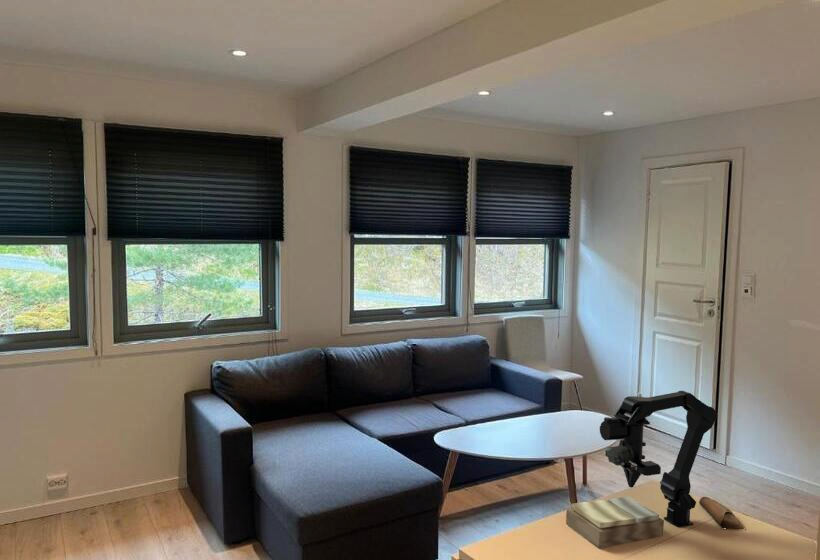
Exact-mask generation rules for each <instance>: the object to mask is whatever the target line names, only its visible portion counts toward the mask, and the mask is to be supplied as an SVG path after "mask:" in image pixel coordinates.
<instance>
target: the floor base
mask: <svg viewBox="0 0 820 560" xmlns="http://www.w3.org/2000/svg"><path fill="white" fill-rule="evenodd" d="M607 501H608V502H610V503H611V504H613V505H615V506H616V507H618V508H620V509H621V510H623V511H625V512H626V513H628V514H629V515H631V516H633V517H634V518H636V523H634V524H627V525H620V526H612V527H605V528H599V527H598V526H596V525H595V524H593V523H592V522H590V521H589V520H587V519H586V518H585V517H583V516H582V515H580V514H579V513H577V512H576V511H574V510H573V509H571V508H566V513H565V514H566V515H565V518H566V519H565V525H566V524H567V525H568V526H567V525H566V526H567V527H569V528H570V527H571V528H572V529H571V528H570V529H571V530H573V531H574V532H576V534H578V535H580V536H581V537H582V538H583V539H584V540H586V541H588V542H589V543H591V544H592V545H593V546H594V547H595V548H597V549H600V550H601V549H604V548H609V547H610V548H611V547H616V546H619V545H624V544H630V543H635V542H640V541H644V540H645V541H646V540H647V541H648V540H651V539H655V538H660V537H664V527H665V526H664V525H665V519H663V518H661V517H660V514H659V513H657V512H655V511H654V510H652V509H650V508H649V507H646V506H645V505H643V504H642V503H640V502H638V501H636V500H635V499H632V498H631V497H630V496H621V497H615V498H608V499H607Z"/></svg>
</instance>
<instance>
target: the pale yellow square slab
mask: <svg viewBox="0 0 820 560" xmlns="http://www.w3.org/2000/svg"><path fill="white" fill-rule="evenodd" d="M570 505H571V509H573V510H574V511H576V512H577V513H579V514H580V515H582V516H583V517H585V518H586V519H587V520H589V521H590V522H592V523H593V524H595V525H596V526H598V527H599V528H605V527H612V526H620V525H627V524H634V523H636V518H634V517H633V516H631V515H629V514H628V513H626V512H625V511H623V510H621V509H620V508H618V507H616V506H615V505H613V504H611V503H610V502H608V499H607V500H606V499H600V500H591V501H583V502H575V503H574V502H573V503H571V504H570Z"/></svg>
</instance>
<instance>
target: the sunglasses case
mask: <svg viewBox="0 0 820 560" xmlns="http://www.w3.org/2000/svg"><path fill="white" fill-rule="evenodd" d="M698 503H699V505H700V507H702V508H703V509H704V510H705V511H706V512H707V513H708V515H709V516H710V517H711V518H712V519H713V520H714V521H715V522H716V524H717V525H718V526H719V527H720V529H722V528H726V529H725V530H732V529H744V528H745V526H744V524H742V522H741V521H740V520H739V519H738V518H737V516H735V515H734V514H733V511H732V510H731V509H729V508H728V507H727V506H725V505H723V504H722V503H720V502H719V501H717V500H715V499H713V498H710V497H708V496H702V497H700V499H699V502H698Z"/></svg>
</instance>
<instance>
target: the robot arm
mask: <svg viewBox="0 0 820 560" xmlns="http://www.w3.org/2000/svg"><path fill="white" fill-rule="evenodd" d="M679 407H682V409H684V410H685V411H686V415H685V420H686V425H687V427H686V432H685V434H684V437H683V440H682V443H681V445H680V448H679V451H678V453H677V457H676V459H675V463H674V465H673V468H672V469H671V470H670V471H669V472H666V471H664V472H663V474H662V478H661V480H660V482H659V484H660V489H659V490H661V493H662V494H663V497H664V499H665V500H667V501H668V503H667V508H666V516H663V520H664V521H666V522H668V523H670V524H672V525H673V526H675V527H677V528H683V527H689V526H693V525H694V522H692V521H691V520H690V519H691V510H692V509H694V508H695V507H696V504H697V501H696V500H695V498H693V496H692V495H691V494H690V492H691V487H692V486H691V480H690V474H691V471H692V469H693V466H694V463H695V459H696V457H697V455H698V452H699V449H700V446H701V443H702V440H703V439H704V438H703V437H704V435H705V434H706V433H707V432H708V431H710V430H711V429H712V427H713V426H714V424H715V422H716V420H717V417H718V413H717V412H716V409H715V408H714V407H712V406H709V405H707V404H706V403H705V402H702V401H701V400H700V399H698V398H697V397H696V396H695V395H694V394H693V393H690V392H689V391H688V392H687V391H685V390H678V391H676V392H671V393H665V394H660V395H655V396H649V397H648V396H647V397H645V396H631V395H630V396H627V397H624V398H623V401H622V402H621V405H620V406H619V407H618V409H617V410H616V411H615V413H614V415H613V417H609V416H608V417H604V418H603V421H602V422H601V423H600V426H599V434H600V437H601V438H602V440H604V441H614V440H615V441H616V440H619V444H618V445H616V446H608V447H607V448H606V449H605V457H607V459H608V462H609V463H612V464H613V465H615V466H618V467H619V466H620V467H621V468H622V469H623V472H624V475H625V478H626V482H627V485H628V487H629V488H634V486H635V484H637V481H638V480H639V478H640V476H641V475H643V476H644V477H645V476H647V477H649V476H655V475H661V470H662V467H661V466H660V465H659V463H656V462H654V461H652V460H647V461H644V460H645V459H646V455H644V454H643V448H644V447H646V446H647V445H646V443H647V442H644V425H645V426H648V425H651V422H650V421H649V420H648V419H647V418H648V417H650V416H651V415H653V413H654V412H659V411H665V410H670V409H675V408H679Z"/></svg>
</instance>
